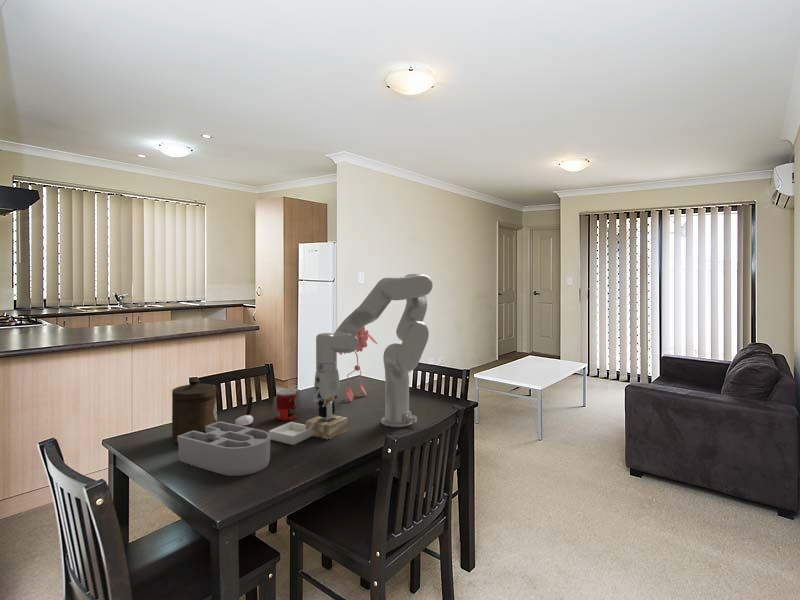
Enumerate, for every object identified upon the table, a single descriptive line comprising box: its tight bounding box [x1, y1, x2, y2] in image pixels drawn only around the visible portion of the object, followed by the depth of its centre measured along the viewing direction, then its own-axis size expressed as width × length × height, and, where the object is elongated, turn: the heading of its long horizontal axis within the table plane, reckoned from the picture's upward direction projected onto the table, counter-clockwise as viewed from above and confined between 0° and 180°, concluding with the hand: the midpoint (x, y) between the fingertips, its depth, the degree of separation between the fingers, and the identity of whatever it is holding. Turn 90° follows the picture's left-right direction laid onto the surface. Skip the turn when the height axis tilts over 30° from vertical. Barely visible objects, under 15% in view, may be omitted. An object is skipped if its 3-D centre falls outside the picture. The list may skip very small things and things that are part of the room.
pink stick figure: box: [337, 325, 378, 403], centre depth 215 cm, size 15×26×35 cm, turn 146°
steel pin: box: [320, 397, 334, 423], centre depth 171 cm, size 5×5×14 cm
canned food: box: [276, 389, 297, 422], centre depth 188 cm, size 8×8×11 cm
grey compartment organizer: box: [177, 420, 271, 477], centre depth 145 cm, size 17×28×9 cm, turn 63°
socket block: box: [305, 414, 349, 440], centre depth 172 cm, size 11×11×5 cm
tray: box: [268, 421, 314, 446], centre depth 167 cm, size 12×12×3 cm
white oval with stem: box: [234, 396, 254, 428], centre depth 172 cm, size 10×6×12 cm, turn 141°
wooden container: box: [171, 377, 218, 444], centre depth 166 cm, size 15×15×22 cm
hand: (326, 414), depth 171 cm, fingers closed on steel pin, 4 cm apart
